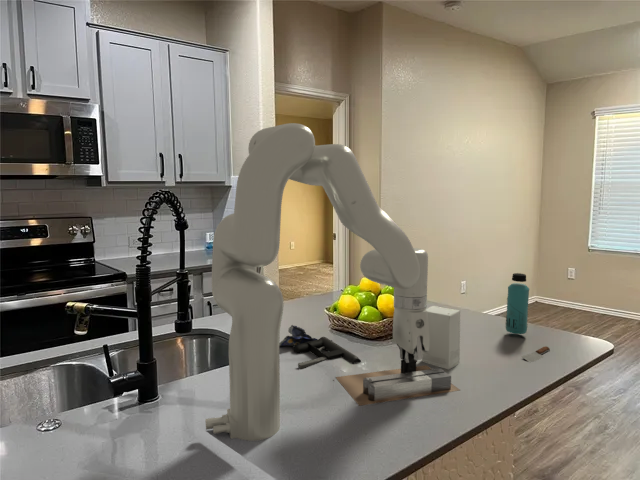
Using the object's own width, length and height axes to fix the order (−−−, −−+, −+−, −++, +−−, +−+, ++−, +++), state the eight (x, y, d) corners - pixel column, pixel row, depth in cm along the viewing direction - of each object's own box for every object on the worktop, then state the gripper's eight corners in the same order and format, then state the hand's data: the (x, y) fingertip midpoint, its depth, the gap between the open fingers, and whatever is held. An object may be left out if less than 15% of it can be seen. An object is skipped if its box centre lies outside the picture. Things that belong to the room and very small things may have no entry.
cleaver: (535, 363, 126) (519, 353, 130) (533, 367, 127) (517, 358, 130) (562, 353, 134) (545, 344, 137) (560, 358, 134) (544, 349, 138)
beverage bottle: (528, 334, 150) (532, 273, 148) (524, 340, 145) (529, 276, 142) (506, 330, 154) (510, 270, 151) (502, 336, 148) (506, 274, 146)
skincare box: (460, 368, 123) (462, 310, 121) (447, 375, 119) (450, 315, 117) (431, 359, 129) (433, 304, 127) (418, 366, 124) (420, 309, 122)
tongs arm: (365, 395, 104) (365, 382, 104) (361, 391, 106) (361, 378, 106) (444, 384, 110) (444, 371, 110) (439, 380, 112) (440, 368, 112)
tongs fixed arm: (370, 401, 101) (370, 387, 101) (366, 397, 103) (366, 383, 103) (450, 389, 108) (451, 375, 107) (445, 385, 110) (446, 372, 109)
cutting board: (359, 412, 100) (359, 405, 100) (335, 383, 114) (335, 377, 114) (460, 396, 107) (460, 390, 107) (426, 370, 122) (426, 365, 121)
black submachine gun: (310, 370, 116) (365, 355, 124) (279, 345, 134) (328, 333, 141) (311, 383, 117) (365, 367, 124) (280, 356, 134) (329, 344, 142)
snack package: (277, 338, 147) (275, 350, 135) (281, 318, 146) (279, 329, 135) (315, 344, 147) (316, 357, 136) (319, 325, 147) (320, 336, 135)
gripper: (441, 308, 103) (438, 387, 106) (409, 292, 117) (407, 362, 120) (411, 311, 101) (408, 392, 103) (381, 294, 115) (380, 366, 118)
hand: (408, 376), depth 112 cm, fingers closed
